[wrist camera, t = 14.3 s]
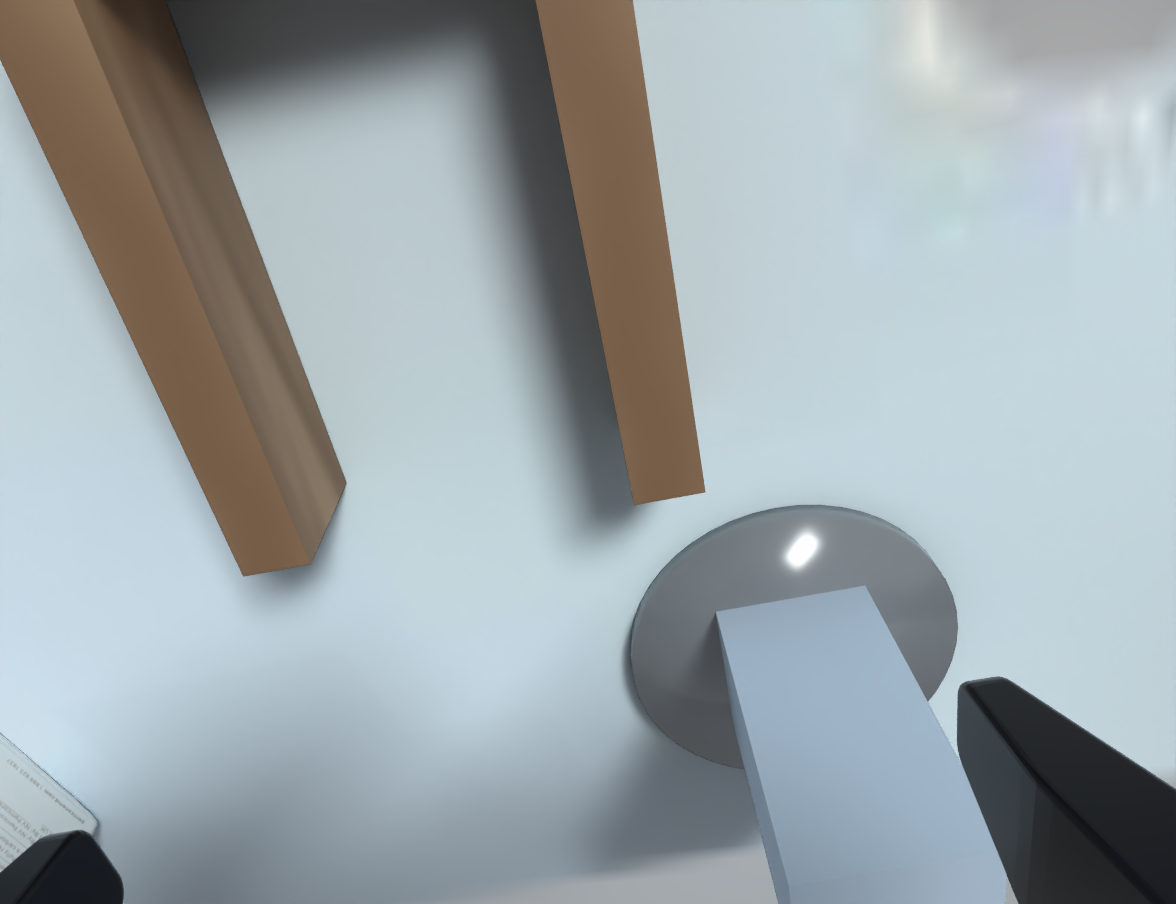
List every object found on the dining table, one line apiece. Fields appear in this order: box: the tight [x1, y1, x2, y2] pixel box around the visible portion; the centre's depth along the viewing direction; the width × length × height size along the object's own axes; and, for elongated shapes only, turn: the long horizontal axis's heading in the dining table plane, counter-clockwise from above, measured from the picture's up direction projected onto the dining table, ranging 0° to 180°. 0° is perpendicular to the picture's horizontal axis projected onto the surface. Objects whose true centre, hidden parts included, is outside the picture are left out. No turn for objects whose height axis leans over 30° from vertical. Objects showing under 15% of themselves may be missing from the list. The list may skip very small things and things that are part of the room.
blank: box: [716, 586, 1007, 904], centre depth 20 cm, size 4×4×8 cm
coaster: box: [631, 505, 958, 769], centre depth 24 cm, size 9×9×1 cm
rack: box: [0, 0, 705, 576], centre depth 16 cm, size 10×13×4 cm
